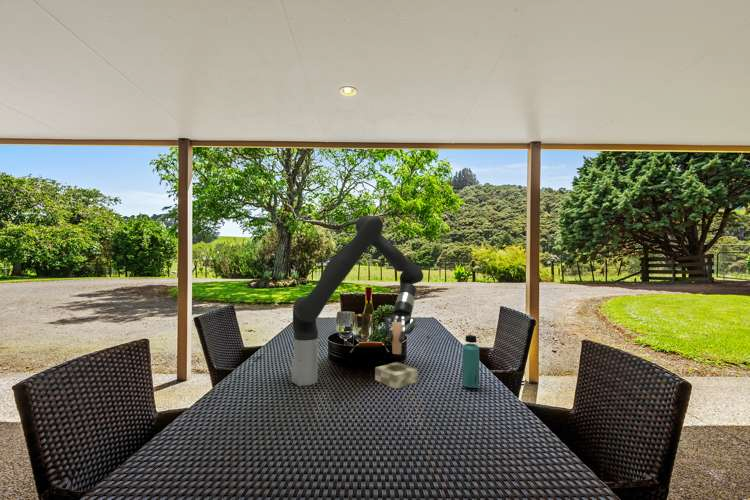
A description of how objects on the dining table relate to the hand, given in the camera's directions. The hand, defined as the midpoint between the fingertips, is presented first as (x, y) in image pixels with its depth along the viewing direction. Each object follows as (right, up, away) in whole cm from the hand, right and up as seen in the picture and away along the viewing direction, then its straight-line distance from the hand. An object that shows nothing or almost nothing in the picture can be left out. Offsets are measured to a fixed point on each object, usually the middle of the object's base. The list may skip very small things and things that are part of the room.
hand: (395, 340), depth 145 cm
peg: (+1, -5, +2) cm, 6 cm away
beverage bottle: (+28, -17, -5) cm, 33 cm away
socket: (0, -16, +2) cm, 17 cm away
